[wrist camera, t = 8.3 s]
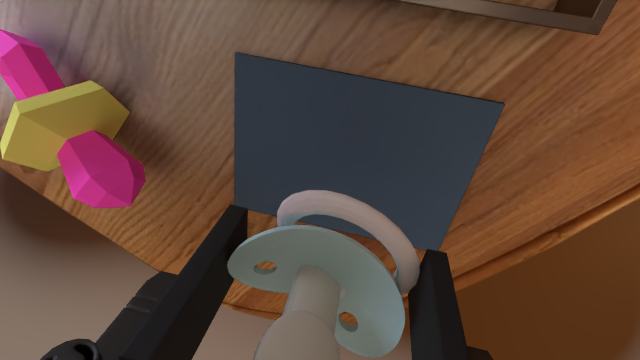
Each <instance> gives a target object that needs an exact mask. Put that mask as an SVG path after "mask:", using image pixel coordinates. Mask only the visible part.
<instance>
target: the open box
mask: <svg viewBox="0 0 640 360" xmlns="http://www.w3.org/2000/svg"><path fill="white" fill-rule="evenodd" d="M391 1H397V2H403V3H409V4H415V5H421V6H427V7H432V8H438V9H444V10H450V11H456V12H462V13H468V14H474V15H480V16H486V17H492V18H498V19H503V20H509V21H515V22H521V23H527V24H533V25H539V26H545V27H551V28H557V29H563V30H569V31H575V32H580V33H586V34H592V35H598V34H599V33H600V31H601V29H602V27H603V25H604V24H605V22H606V20H607V18H608V16H609V14H610V13H611V11H612V9H613V7H614V5H615V3H616V2H617V0H559V1H558V3H557V6H556V8H555V10H554V11H550V10H544V9H538V8H532V7H526V6H520V5H514V4H508V3H502V2H496V1H489V0H391Z"/></svg>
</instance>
